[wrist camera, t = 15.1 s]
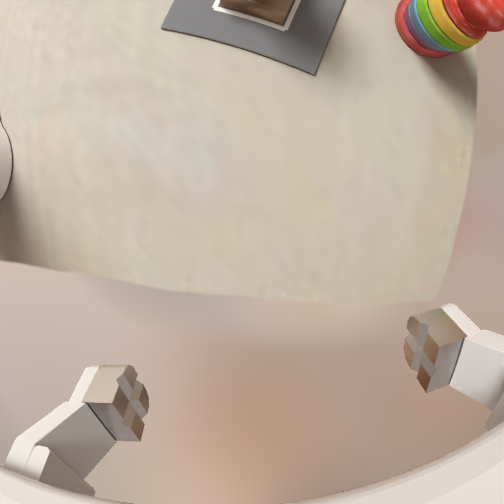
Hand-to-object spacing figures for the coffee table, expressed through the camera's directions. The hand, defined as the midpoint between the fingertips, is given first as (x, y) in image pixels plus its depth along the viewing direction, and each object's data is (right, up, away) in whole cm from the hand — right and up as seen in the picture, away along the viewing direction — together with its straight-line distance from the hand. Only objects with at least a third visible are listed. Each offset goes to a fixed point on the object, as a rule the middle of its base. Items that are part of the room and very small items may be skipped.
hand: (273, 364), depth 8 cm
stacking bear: (+24, +35, +21) cm, 47 cm away
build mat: (0, +35, +20) cm, 40 cm away
